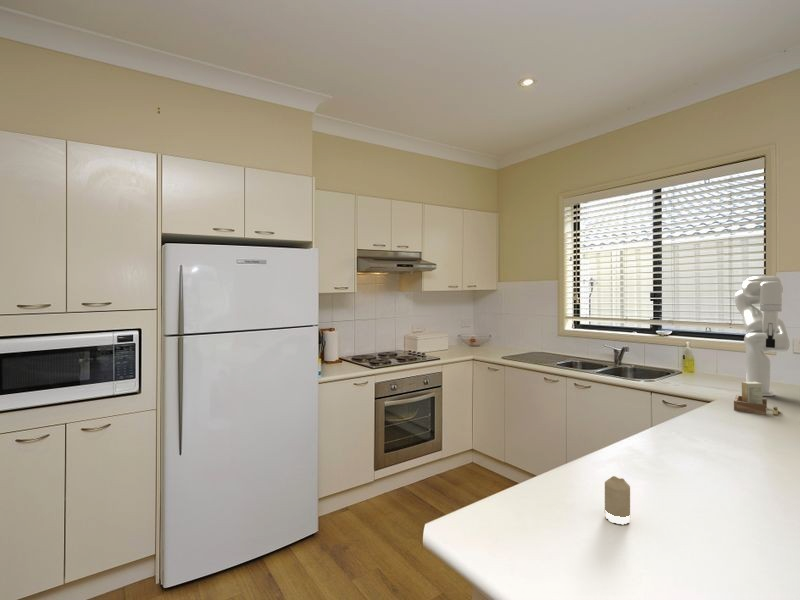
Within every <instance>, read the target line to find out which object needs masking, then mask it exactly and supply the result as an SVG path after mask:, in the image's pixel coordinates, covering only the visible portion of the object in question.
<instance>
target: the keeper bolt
mask: <svg viewBox="0 0 800 600" xmlns="http://www.w3.org/2000/svg"><path fill="white" fill-rule="evenodd" d="M772 415H777V416H779V407H778V406H777V405H773V406H772Z"/></svg>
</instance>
